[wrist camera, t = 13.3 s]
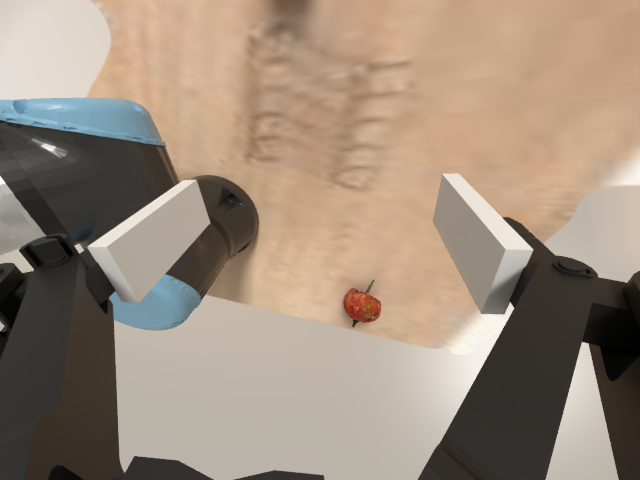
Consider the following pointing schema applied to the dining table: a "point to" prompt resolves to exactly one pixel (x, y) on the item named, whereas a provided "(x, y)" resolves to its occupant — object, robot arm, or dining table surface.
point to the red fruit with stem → (361, 306)
